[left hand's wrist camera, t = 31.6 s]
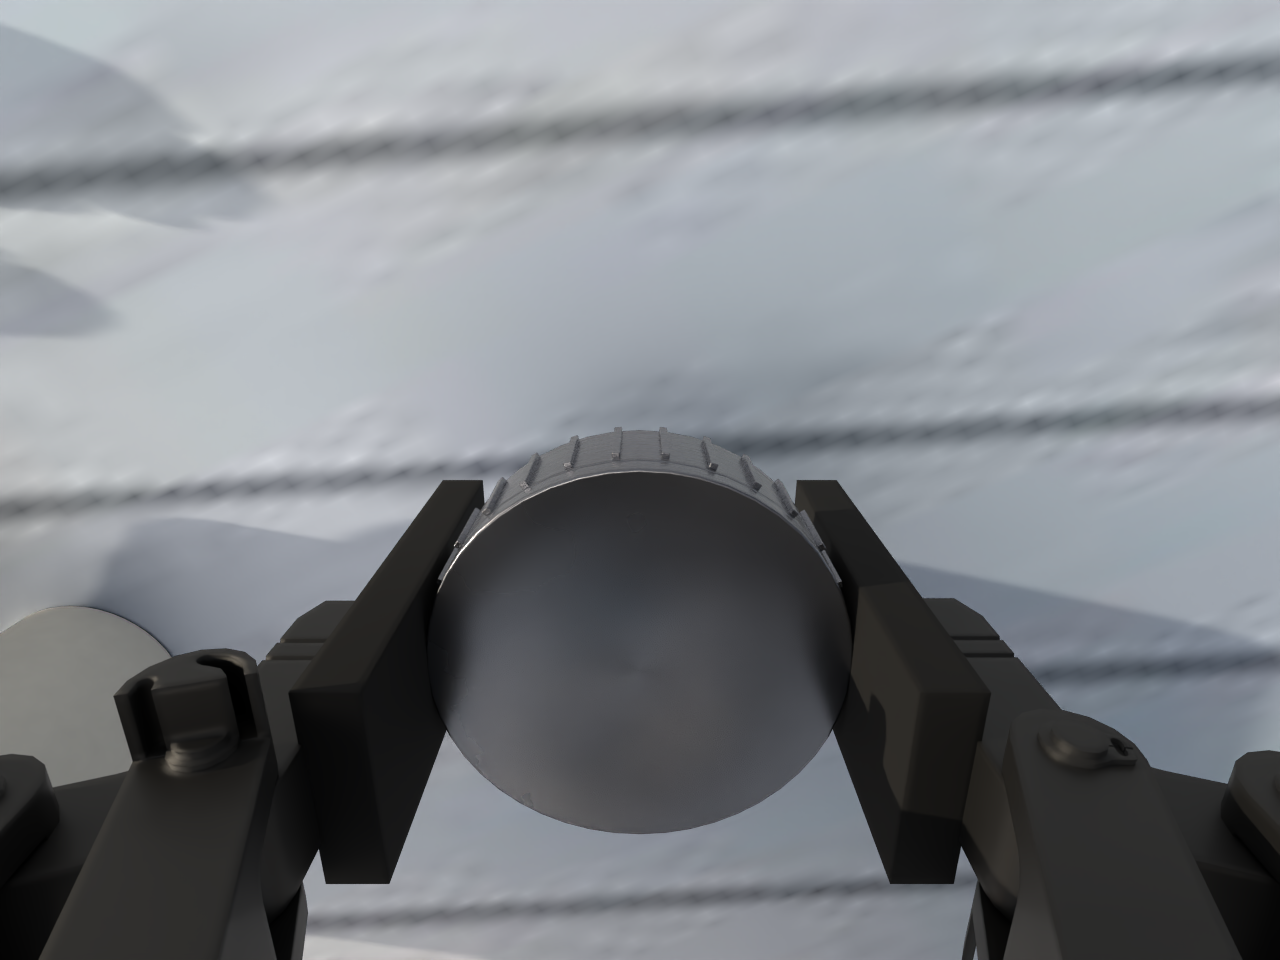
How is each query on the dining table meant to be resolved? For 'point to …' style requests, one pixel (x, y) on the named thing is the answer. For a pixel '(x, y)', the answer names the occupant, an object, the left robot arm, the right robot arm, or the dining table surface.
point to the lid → (639, 635)
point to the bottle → (70, 689)
